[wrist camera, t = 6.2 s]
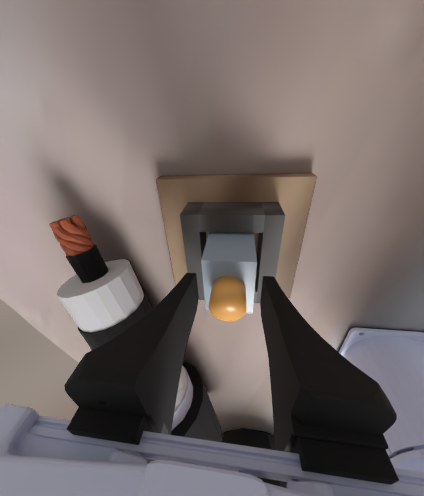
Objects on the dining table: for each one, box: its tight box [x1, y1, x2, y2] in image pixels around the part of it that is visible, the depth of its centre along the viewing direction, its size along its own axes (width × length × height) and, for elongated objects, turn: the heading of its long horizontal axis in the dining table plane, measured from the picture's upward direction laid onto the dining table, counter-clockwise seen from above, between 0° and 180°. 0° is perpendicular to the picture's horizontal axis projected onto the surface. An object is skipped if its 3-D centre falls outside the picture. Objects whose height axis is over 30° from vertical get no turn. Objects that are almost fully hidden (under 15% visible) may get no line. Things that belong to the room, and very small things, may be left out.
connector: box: [201, 232, 257, 321], centre depth 14 cm, size 3×4×7 cm
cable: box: [49, 215, 221, 464], centre depth 23 cm, size 10×34×10 cm, turn 15°
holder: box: [156, 173, 317, 303], centre depth 16 cm, size 11×11×4 cm
